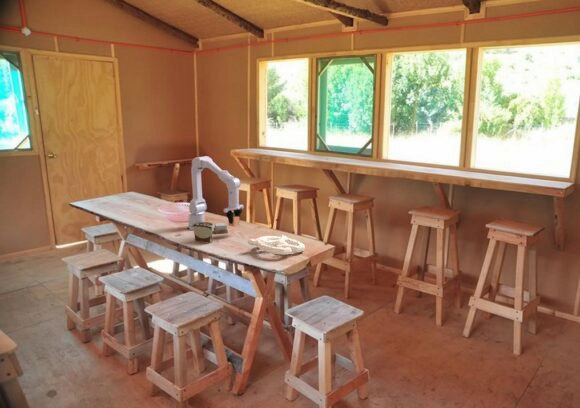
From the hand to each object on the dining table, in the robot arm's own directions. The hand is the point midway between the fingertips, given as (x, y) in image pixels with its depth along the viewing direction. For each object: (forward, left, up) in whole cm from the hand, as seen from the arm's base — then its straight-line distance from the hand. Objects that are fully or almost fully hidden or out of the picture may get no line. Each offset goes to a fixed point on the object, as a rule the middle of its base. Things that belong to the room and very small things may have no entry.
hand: (233, 222), depth 253 cm
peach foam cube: (0, 0, -2) cm, 2 cm away
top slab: (-6, +9, -6) cm, 12 cm away
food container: (-17, -5, -8) cm, 20 cm away
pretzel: (+16, -33, -8) cm, 37 cm away
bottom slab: (-6, +9, -8) cm, 13 cm away
